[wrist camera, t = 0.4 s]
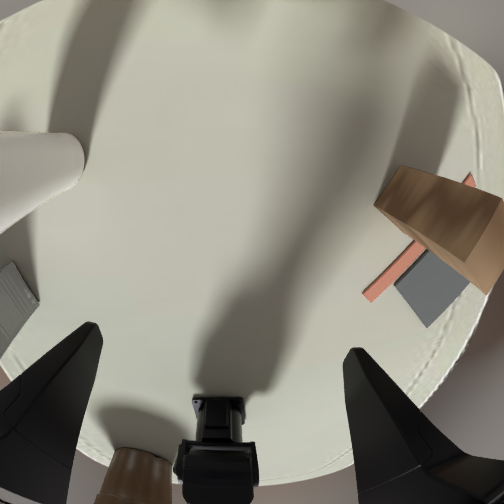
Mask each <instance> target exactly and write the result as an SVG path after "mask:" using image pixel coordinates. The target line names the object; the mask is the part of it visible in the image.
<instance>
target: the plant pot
mask: <svg viewBox="0 0 504 504" xmlns="http://www.w3.org/2000/svg"><path fill="white" fill-rule="evenodd" d="M94 504H172V466H171V465H170V463H169V462H167V461H166V460H164V459H163V458H156V457H155V456H154V455H153V454H151V453H148V452H145V451H141V450H138V449H132V448H119V449H118V450H115V452H114V455H113V458H112V460H111V463H110V466H109V468H108V471H107V474H106V477H105V479H104V482H103V485H102V488H101V490H100V493H99V494H97V497H96V499H95V502H94Z"/></svg>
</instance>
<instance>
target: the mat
mask: <svg viewBox="0 0 504 504" xmlns="http://www.w3.org/2000/svg"><path fill="white" fill-rule="evenodd" d="M469 283H470V281H469V280H467V279H466V278H465V277H464V276H462V275H461V274H460V273H458V272H457V271H456V270H455V269H453V268H452V267H451V266H449V265H448V264H447V263H445V262H444V261H443V260H441V259H440V258H439V257H437V256H436V255H435V254H433V253H432V252H430V251H429V250H428V249H427V250H426V251H425V252H424V254H423V255H422V256H421V257H420V258H419V259H418V260H417V261H416V262H415V263H414V264H413V265H412V266H411V267H410V268H409V270H408V271H407V272H406V273H405V274H404V275H403V276H402V277H401V278H400V279H399V280H398V281H397V282H396V283H395V284H394V286H395V287H396V289H397V290H398V291H399V292H400V294H401V295H402V296H403V297H404V299H405V300H406V301H407V303H408V304H409V305H410V307H411V308H412V309H413V310H414V312H415V313H416V314H417V316H418V317H419V319H420V320H421V321H422V323H423V324H424V325H425V327H426V328H428V327H429V326H430V325H431V324H432V323H433V322H434V321H435V320H436V319H437V318H438V317H439V316H440V315H441V314H442V313H443V312H444V311H445V310H446V309H447V308H448V306H449V305H450V304H451V303H452V302H453V301H454V300H455V299H456V298H457V297H458V296H459V294H460V293H461V292H462V291H463V290H464V289H465V288H466V286H467V285H468V284H469Z"/></svg>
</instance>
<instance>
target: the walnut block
mask: <svg viewBox="0 0 504 504" xmlns="http://www.w3.org/2000/svg"><path fill="white" fill-rule="evenodd" d="M374 206H375V207H376V208H377V209H378V210H379V211H381V212H382V213H383V214H384V215H385V216H386V217H387V218H388V219H389V220H390V221H392V222H393V223H394V224H395V225H396V226H397V227H398V228H399V229H400V230H401V231H402V232H403V233H405V234H406V235H408V236H409V237H411V238H412V239H413V240H415V241H416V242H418V243H419V244H421V245H422V246H423V247H425V248H426V249H428V250H429V251H430V252H432V253H433V254H435V255H436V256H437V257H439V258H440V259H441V260H443V261H444V262H445V263H447V264H448V265H449V266H451V267H452V268H453V269H455V270H456V271H457V272H458V273H460V274H461V275H462V276H464V277H465V278H466V279H467V280H469V281H470V282H471V283H472V284H473V285H475V286H476V287H477V288H478V289H479V290H481V291H482V292H483V293H484V294H485V295H487V294H488V292H489V291H490V290H491V288H492V287H493V285H494V284H495V282H496V281H497V279H498V277H499V276H500V274H501V273H502V271H503V269H504V201H503V199H502V198H500V197H498V196H495V195H493V194H490V193H487V192H485V191H482V190H479V189H477V188H474V187H471V186H468V185H465V184H462V183H459V182H456V181H453V180H450V179H447V178H444V177H440V176H437V175H434V174H430V173H427V172H423V171H420V170H416V169H412V168H408V167H405V166H400V167H399V169H398V170H397V172H396V173H395V175H394V176H393V178H392V179H391V181H390V182H389V184H388V185H387V187H386V188H385V189H384V191H383V192H382V194H381V195H380V197H379V198H378V200H377V201H376V202H375V204H374Z"/></svg>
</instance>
